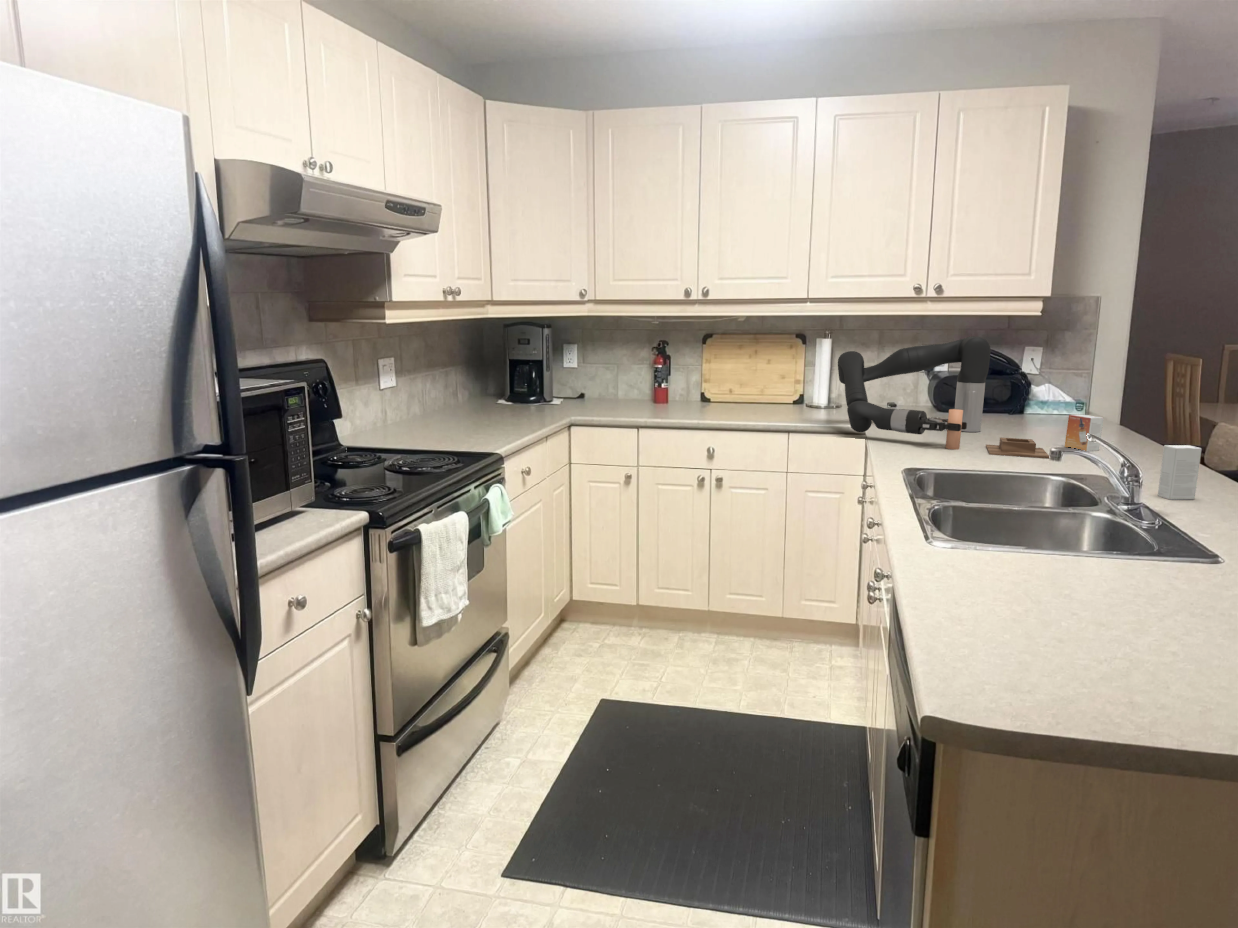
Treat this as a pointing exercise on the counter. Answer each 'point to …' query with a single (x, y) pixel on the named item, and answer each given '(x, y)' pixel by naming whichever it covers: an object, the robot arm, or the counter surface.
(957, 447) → the pin
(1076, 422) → the small box
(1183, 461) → the skincare box
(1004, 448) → the socket block
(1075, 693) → the counter surface
